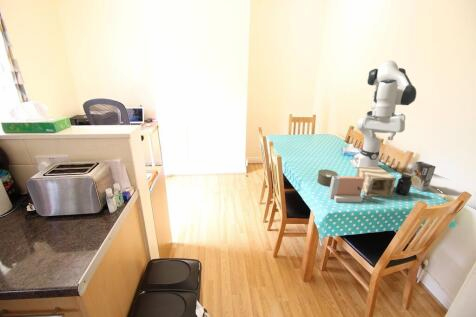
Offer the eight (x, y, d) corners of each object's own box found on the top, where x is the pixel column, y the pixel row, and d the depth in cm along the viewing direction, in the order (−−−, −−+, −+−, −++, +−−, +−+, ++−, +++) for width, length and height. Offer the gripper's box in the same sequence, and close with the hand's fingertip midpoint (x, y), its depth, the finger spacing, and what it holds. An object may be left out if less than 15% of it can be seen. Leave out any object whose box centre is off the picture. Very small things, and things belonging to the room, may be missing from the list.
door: (328, 195, 135) (332, 175, 130) (357, 196, 135) (361, 176, 130) (331, 199, 131) (335, 179, 126) (360, 200, 131) (365, 179, 126)
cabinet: (349, 183, 150) (353, 166, 146) (375, 183, 150) (379, 167, 146) (365, 199, 132) (369, 180, 127) (395, 199, 132) (400, 181, 128)
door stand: (328, 193, 138) (329, 189, 137) (353, 193, 138) (354, 189, 137) (335, 201, 129) (336, 198, 128) (361, 202, 129) (362, 198, 128)
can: (335, 179, 155) (336, 170, 153) (337, 187, 144) (339, 178, 142) (316, 177, 158) (318, 168, 156) (317, 185, 147) (318, 175, 145)
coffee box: (428, 189, 144) (436, 166, 138) (421, 191, 142) (429, 167, 136) (413, 183, 152) (420, 161, 146) (406, 184, 150) (414, 162, 144)
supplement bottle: (395, 189, 144) (400, 172, 140) (408, 192, 140) (414, 175, 136) (394, 193, 139) (399, 175, 135) (407, 197, 135) (413, 179, 131)
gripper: (409, 112, 110) (405, 141, 114) (371, 111, 128) (368, 135, 132) (401, 113, 108) (397, 142, 111) (363, 112, 126) (360, 136, 130)
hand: (381, 138), depth 122 cm, fingers open, 8 cm apart
